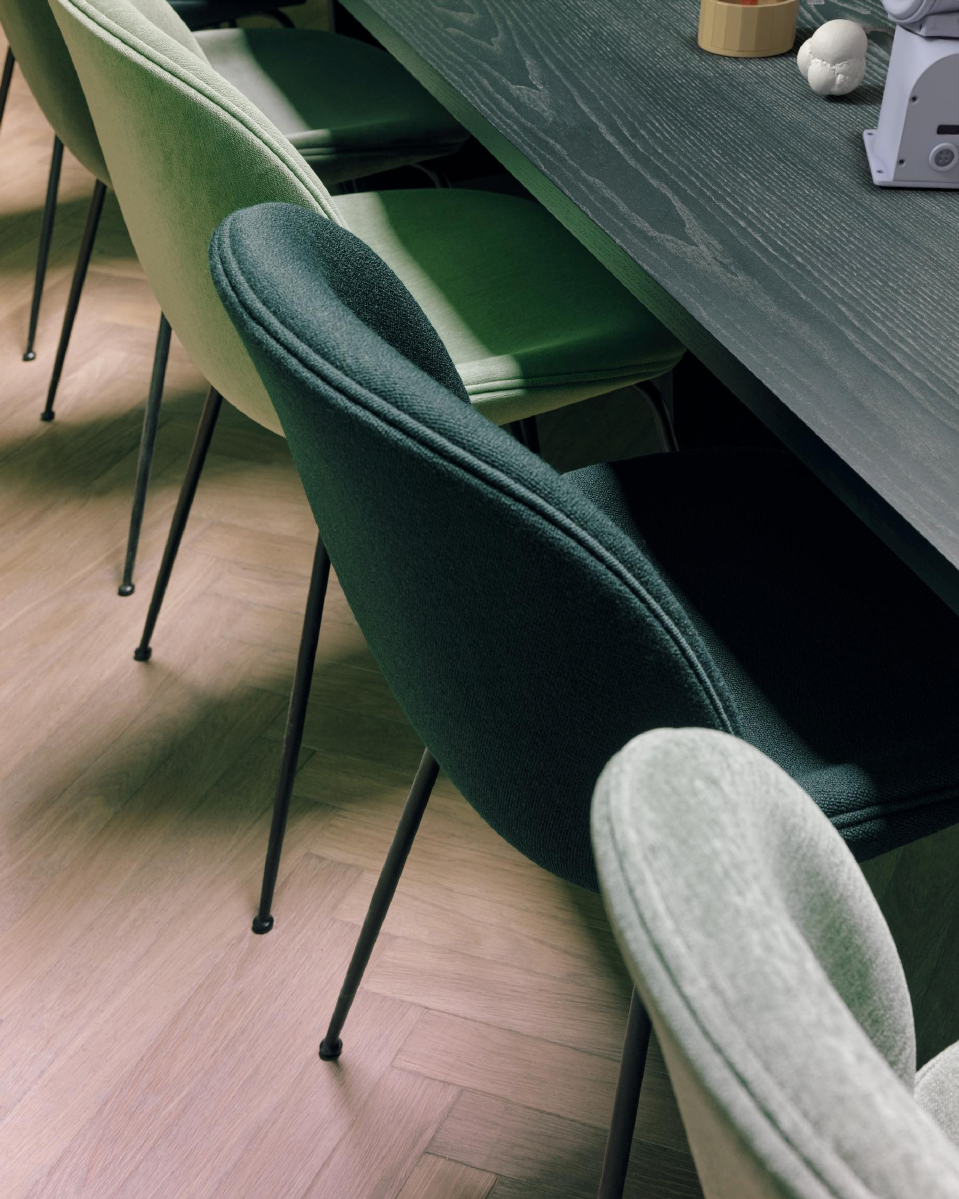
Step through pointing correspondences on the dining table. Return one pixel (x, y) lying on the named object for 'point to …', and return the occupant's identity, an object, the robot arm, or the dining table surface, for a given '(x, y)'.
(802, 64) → the microfossil shell
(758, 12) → the tumbler
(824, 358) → the dining table surface
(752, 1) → the straw
